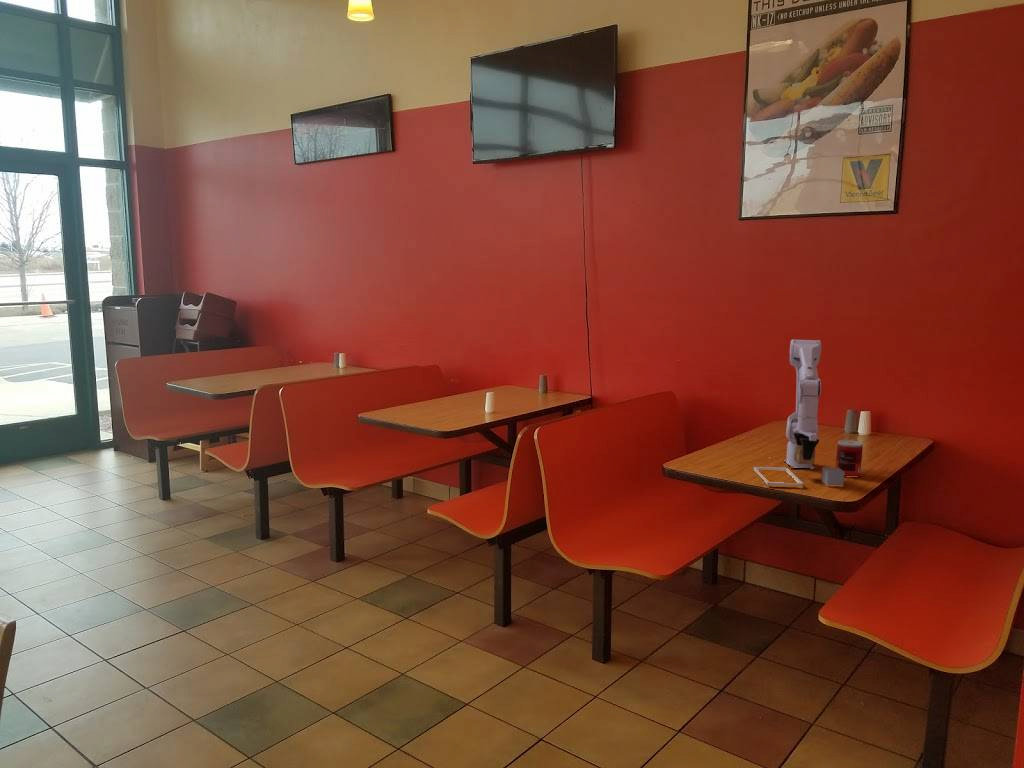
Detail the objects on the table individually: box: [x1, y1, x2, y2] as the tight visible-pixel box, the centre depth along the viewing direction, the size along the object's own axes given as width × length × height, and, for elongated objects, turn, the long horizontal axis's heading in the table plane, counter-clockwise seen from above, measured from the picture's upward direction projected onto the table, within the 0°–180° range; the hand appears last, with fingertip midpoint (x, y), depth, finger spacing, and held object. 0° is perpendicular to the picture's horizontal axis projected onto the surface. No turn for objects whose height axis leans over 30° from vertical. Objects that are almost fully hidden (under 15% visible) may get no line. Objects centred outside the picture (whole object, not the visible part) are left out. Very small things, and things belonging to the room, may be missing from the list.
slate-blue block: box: [821, 466, 845, 486], centre depth 245 cm, size 5×5×5 cm
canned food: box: [835, 439, 864, 477], centre depth 256 cm, size 8×8×11 cm
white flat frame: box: [752, 466, 805, 488], centre depth 251 cm, size 18×11×2 cm, turn 176°
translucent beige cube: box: [794, 445, 816, 465], centre depth 252 cm, size 5×5×5 cm
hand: (804, 457), depth 252 cm, fingers closed on translucent beige cube, 5 cm apart
